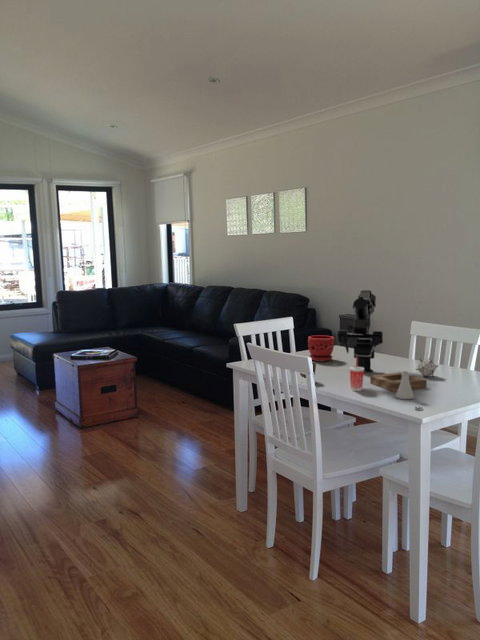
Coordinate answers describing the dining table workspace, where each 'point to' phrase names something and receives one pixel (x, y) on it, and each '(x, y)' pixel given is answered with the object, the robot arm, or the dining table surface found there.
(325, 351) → the plant pot
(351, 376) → the beverage cup
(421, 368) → the spiky beige ball
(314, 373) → the cup
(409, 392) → the flask
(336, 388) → the dining table surface
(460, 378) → the dining table surface
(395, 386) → the base board
